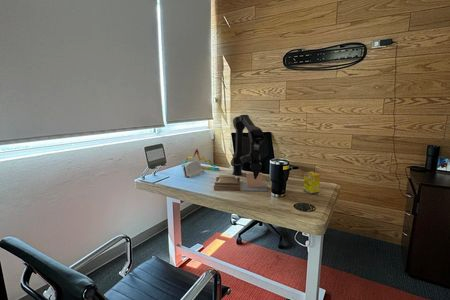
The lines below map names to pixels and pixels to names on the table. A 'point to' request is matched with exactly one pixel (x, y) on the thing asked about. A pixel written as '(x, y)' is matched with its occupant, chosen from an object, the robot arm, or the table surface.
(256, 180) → the terracotta board
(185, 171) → the beige rounded block
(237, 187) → the walnut rack
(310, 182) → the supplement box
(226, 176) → the offcut stack
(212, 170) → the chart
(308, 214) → the table surface
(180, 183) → the table surface
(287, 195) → the table surface
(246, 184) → the charcoal mat
